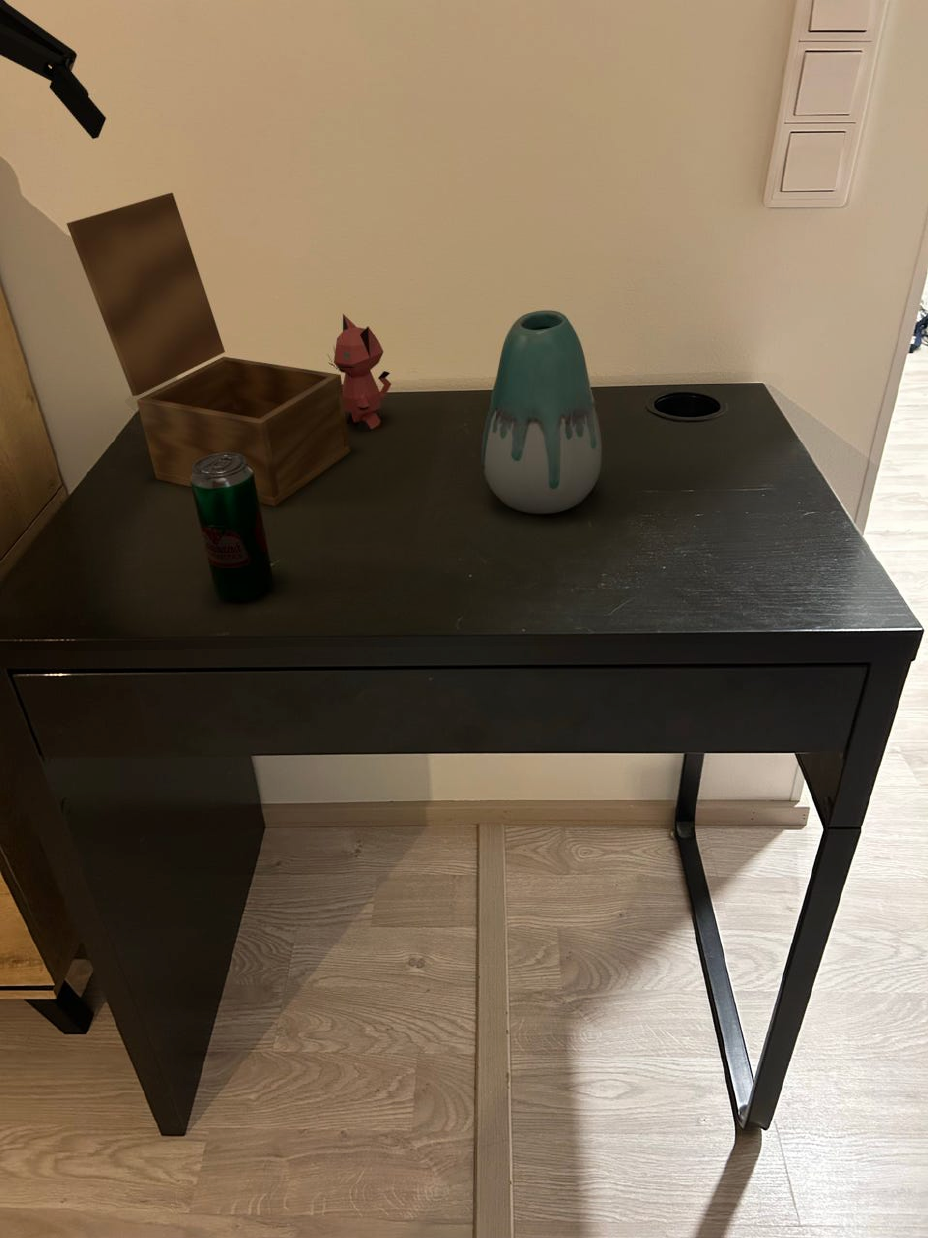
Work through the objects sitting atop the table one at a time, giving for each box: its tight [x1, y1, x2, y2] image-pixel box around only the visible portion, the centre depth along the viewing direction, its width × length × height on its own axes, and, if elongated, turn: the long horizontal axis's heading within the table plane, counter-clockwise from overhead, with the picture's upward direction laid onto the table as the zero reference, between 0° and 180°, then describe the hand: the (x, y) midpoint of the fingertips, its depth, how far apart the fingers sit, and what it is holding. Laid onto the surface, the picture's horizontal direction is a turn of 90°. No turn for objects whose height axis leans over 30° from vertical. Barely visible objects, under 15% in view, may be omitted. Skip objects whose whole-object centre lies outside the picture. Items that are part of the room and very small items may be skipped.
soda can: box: [190, 452, 274, 603], centre depth 80 cm, size 5×5×12 cm
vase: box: [481, 309, 603, 515], centre depth 89 cm, size 12×12×18 cm
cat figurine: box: [327, 313, 392, 432], centre depth 109 cm, size 7×7×12 cm
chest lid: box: [66, 192, 226, 397], centre depth 98 cm, size 17×14×1 cm
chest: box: [136, 356, 351, 507], centre depth 101 cm, size 16×14×9 cm
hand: (47, 141), depth 94 cm, fingers open, 13 cm apart
